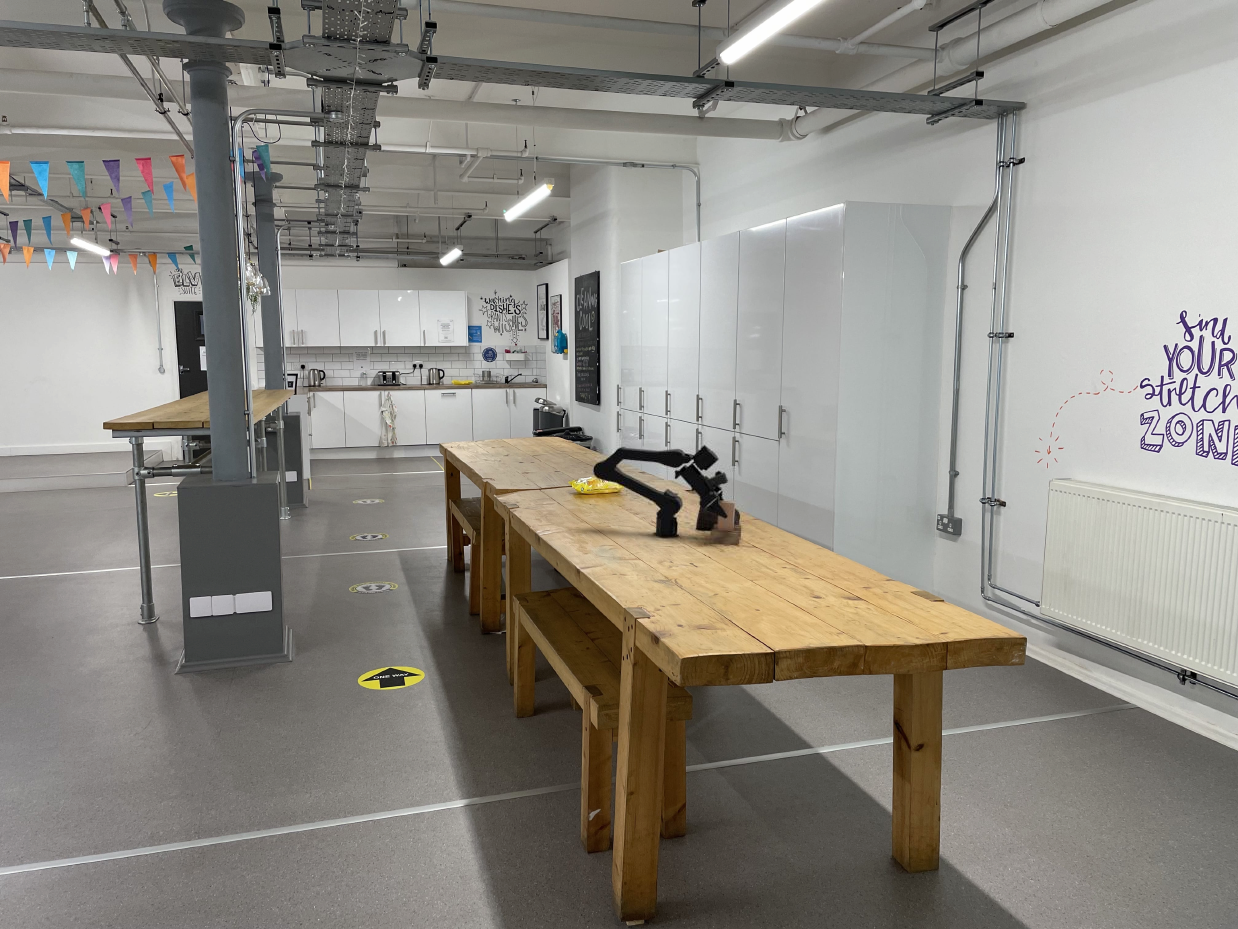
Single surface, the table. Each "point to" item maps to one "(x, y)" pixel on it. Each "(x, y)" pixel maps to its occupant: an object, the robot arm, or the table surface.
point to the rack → (725, 535)
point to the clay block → (727, 515)
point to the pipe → (712, 519)
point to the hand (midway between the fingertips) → (727, 515)
